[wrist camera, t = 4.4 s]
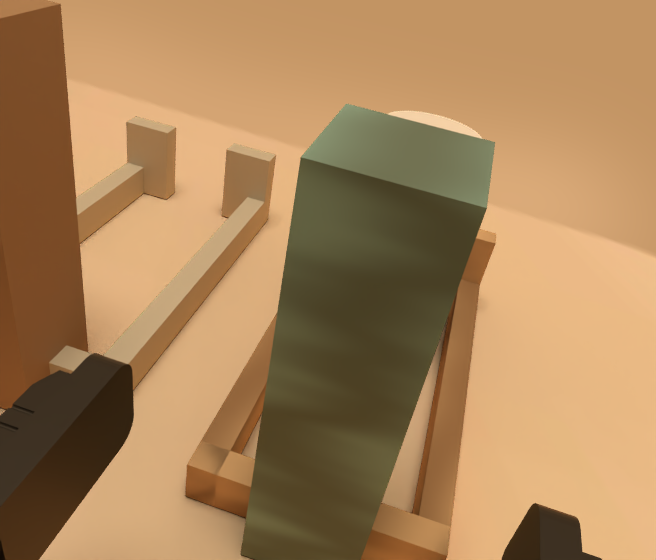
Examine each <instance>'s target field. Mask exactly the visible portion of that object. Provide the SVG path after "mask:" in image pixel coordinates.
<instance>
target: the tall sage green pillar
mask: <svg viewBox="0 0 656 560" xmlns="http://www.w3.org/2000/svg"><path fill="white" fill-rule="evenodd" d="M494 147H495V142H492V141H488V140H485V139H481V138H477V137H473V136H469V135H465V134H461V133H458V132H454V131H450V130H446V129H442V128H438V127H435V126H431V125H427V124H423V123H419V122H415V121H411V120H408V119H404V118H400V117H396V116H392V115H388V114H384V113H380V112H376V111H373V110H369V109H365V108H361V107H357V106H354V105H349V104H346V105H345V106H344V107H343V108H342V109H341V111H340V112H339V113H338V114H337V115H336V117H335V118H334V119H333V120H332V121H331V122H330V124H329V125H328V126H327V127H326V128H325V129H324V131H323V132H322V133H321V134H320V135H319V136H318V138H317V139H316V140H315V141H314V142H313V144H312V145H311V146H310V147H309V148H308V149H307V151H306V152H305V153H304V154H303V155H302V157H301V160H300V167H299V173H298V180H297V187H296V193H295V200H294V206H293V213H292V219H291V226H290V233H289V239H288V246H287V252H286V259H285V266H284V272H283V279H282V285H281V292H280V299H279V305H278V312H277V314H276V315H275V317H274V319H273V321H272V322H271V324H270V326H269V327H268V329H267V331H266V332H265V334H264V336H263V337H262V339H261V341H260V342H259V344H258V346H257V348H256V349H255V351H254V353H253V354H252V356H251V358H250V359H249V361H248V363H247V364H246V366H245V368H244V369H243V371H242V373H241V375H240V376H239V378H238V380H237V381H236V383H235V385H234V386H233V388H232V390H231V391H230V393H229V395H228V397H227V398H226V400H225V402H224V403H223V405H222V407H221V408H220V410H219V412H218V413H217V415H216V417H215V418H214V420H213V422H212V424H211V425H210V427H209V429H208V430H207V432H206V434H205V435H204V437H203V439H202V440H201V442H200V444H199V445H198V447H197V449H196V451H195V452H194V454H193V456H192V457H191V459H190V461H189V462H188V464H187V477H186V496H187V497H189V498H192V499H195V500H198V501H201V502H203V503H206V504H209V505H212V506H215V507H217V508H220V509H223V510H226V511H228V512H231V513H234V514H237V515H240V516H242V517H245V518H246V523H245V529H244V536H243V543H242V549H241V555H243V556H246V557H249V558H251V559H254V560H361V559H362V560H446V558H447V555H448V546H449V538H450V529H451V521H452V513H453V504H454V496H455V487H456V479H457V471H458V462H459V454H460V446H461V437H462V429H463V420H464V412H465V404H466V395H467V387H468V378H469V370H470V362H471V353H472V345H473V337H474V328H475V320H476V311H477V303H478V295H479V286H480V283H481V280H482V277H483V275H484V272H485V269H486V267H487V264H488V262H489V259H490V256H491V254H492V251H493V249H494V246H495V242H496V234H495V233H492V232H488V231H485V230H481V229H479V228H480V226H481V223H482V220H483V217H484V214H485V212H486V209H487V202H488V194H489V186H490V178H491V170H492V162H493V155H494ZM448 315H449V316H448ZM447 318H448V322H447V327H446V332H445V338H444V343H443V349H442V354H441V360H440V365H439V371H438V376H437V381H436V387H435V392H434V398H433V403H432V409H431V414H430V419H429V425H428V430H427V436H426V441H425V447H424V452H423V458H422V463H421V468H420V474H419V479H418V485H417V490H416V496H415V501H414V506H413V512H412V513H409V512H406V511H403V510H401V509H398V508H395V507H392V506H389V505H386V504H383V503H381V502H382V499H383V496H384V493H385V491H386V488H387V485H388V482H389V479H390V477H391V474H392V471H393V468H394V465H395V463H396V460H397V457H398V454H399V452H400V449H401V446H402V443H403V440H404V438H405V435H406V432H407V429H408V426H409V424H410V421H411V418H412V415H413V412H414V410H415V407H416V404H417V401H418V399H419V396H420V393H421V390H422V387H423V385H424V382H425V379H426V376H427V373H428V371H429V368H430V365H431V362H432V359H433V357H434V354H435V351H436V348H437V346H438V343H439V340H440V337H441V334H442V332H443V329H444V326H445V323H446V320H447ZM261 413H262V417H261V424H260V430H259V437H258V444H257V450H256V457H255V459H253V458H250V457H247V456H244V455H241V453H242V451H243V449H244V447H245V445H246V443H247V441H248V439H249V437H250V435H251V433H252V431H253V429H254V427H255V425H256V423H257V421H258V419H259V417H260V415H261Z"/></svg>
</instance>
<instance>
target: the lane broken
mask: <svg viewBox="0 0 656 560" xmlns="http://www.w3.org/2000/svg"><path fill="white" fill-rule="evenodd" d="M126 125H127V163H126V164H125V165H123V166H122V167H120V168H119V169H118V170H116V171H115V172H113V173H112V174H110V175H109V176H107V177H106V178H104V179H103V180H101V181H100V182H98V183H97V184H95V185H94V186H93V187H91V188H90V189H88V190H87V191H85V192H84V193H82V194H81V195H79V196H78V197H76V192H75V180H74V167H73V155H72V142H71V130H70V117H69V104H68V92H67V79H66V67H65V54H64V43H63V30H62V16H61V5H60V4H59V3H55V2H51V1H47V0H0V407H1V408H4V409H6V410H7V409H8V408H11V407H12V405H13V403H14V402H15V401H16V400H17V399H18V398H19V397H20V396H21V395H22V394H23V393H24V392H25V391H26V390H27V389H28V388H29V387H30V386H31V385H32V384H34V383H36V382H37V381H39V380H41V379H43V378H45V377H47V376H49V375H51V374H53V373H55V372H57V371H58V370H61V371H64V372H67V373H70V374H71V373H72V372H73V371H74V370H75V369H76V368H77V367H78V366H79V365H80V364H81V363H82V362H83V361H84V360H85V359H86V358H87V357H88V356H89V355H91V353H88V343H87V331H86V318H85V305H84V293H83V280H82V268H81V255H80V243H81V242H82V241H84V240H85V239H86V238H87V237H89V236H90V235H91V234H92V233H94V232H95V231H96V230H97V229H99V228H100V227H101V226H103V225H104V224H105V223H106V222H108V221H109V220H110V219H111V218H113V217H114V216H115V215H116V214H118V213H119V212H120V211H122V210H123V209H124V208H125V207H127V206H128V205H129V204H130V203H132V202H133V201H134V200H136V199H137V198H138V197H139V196H141V195H142V194H143V193H146V194H149V195H153V196H156V197H160V198H163V199H167V198H169V197H170V196H171V195H172V194H173V193H174V192H175V154H176V127H173V126H170V125H166V124H162V123H159V122H155V121H151V120H148V119H144V118H141V117H137V116H136V117H134V118H132V119H131V120H129V121H127V122H126ZM275 159H276V155H275V154H271V153H268V152H264V151H261V150H257V149H253V148H250V147H246V146H242V145H239V144H235V143H234V144H233V145H232V146H230V147H229V148H228V149H227V152H226V166H225V179H224V192H223V205H222V216H225V217H228V219H227V220H226V221H225V222H224V223H223V225H222V226H221V227H220V228H219V229H218V230H217V231H216V232H215V233H214V234H213V235H212V237H211V238H210V239H209V240H208V241H207V242H206V243H205V244H204V245H203V246H202V248H201V249H200V250H199V251H198V252H197V253H196V254H195V255H194V256H193V257H192V259H191V260H190V261H189V262H188V263H187V264H186V265H185V266H184V267H183V268H182V269H181V271H180V272H179V273H178V274H177V275H176V276H175V277H174V278H173V279H172V280H171V282H170V283H169V284H168V285H167V286H166V287H165V288H164V289H163V290H162V291H161V292H160V294H159V295H158V296H157V297H156V298H155V299H154V300H153V301H152V302H151V303H150V305H149V306H148V307H147V308H146V309H145V310H144V311H143V312H142V313H141V314H140V315H139V317H138V318H137V319H136V320H135V321H134V322H133V323H132V324H131V325H130V326H129V328H128V329H127V330H126V331H125V332H124V333H123V334H122V335H121V336H120V337H119V338H118V340H117V341H116V342H115V343H114V344H113V345H112V346H111V347H110V348H109V349H108V351H107V352H106V353H105V354H104V355H103V356H105V357H108V358H111V359H114V360H117V361H120V362H123V363H126V364H129V365H130V366H131V367H132V372H133V390H134V389H135V387H136V386H137V385H138V383H139V382H140V381H141V380H142V378H143V377H144V376H145V375H146V373H147V372H148V371H149V370H150V368H151V367H152V366H153V364H154V363H155V362H156V361H157V359H158V358H159V357H160V356H161V354H162V353H163V352H164V351H165V349H166V348H167V347H168V345H169V344H170V343H171V342H172V340H173V339H174V338H175V337H176V335H177V334H178V333H179V332H180V330H181V329H182V328H183V326H184V325H185V324H186V323H187V321H188V320H189V319H190V318H191V316H192V315H193V314H194V312H195V311H196V310H197V309H198V307H199V306H200V305H201V304H202V302H203V301H204V300H205V299H206V297H207V296H208V295H209V293H210V292H211V291H212V290H213V288H214V287H215V286H216V285H217V283H218V282H219V281H220V280H221V278H222V277H223V276H224V274H225V273H226V272H227V271H228V269H229V268H230V267H231V266H232V264H233V263H234V262H235V260H236V259H237V258H238V257H239V255H240V254H241V253H242V252H243V250H244V249H245V248H246V247H247V245H248V244H249V243H250V241H251V240H252V239H253V238H254V236H255V235H256V234H257V233H258V231H259V230H260V229H261V228H262V226H263V225H264V224H265V222H266V221H267V220H268V214H269V206H270V198H271V191H272V183H273V175H274V167H275Z"/></svg>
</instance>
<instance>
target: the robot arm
mask: <svg viewBox="0 0 656 560" xmlns="http://www.w3.org/2000/svg"><path fill="white" fill-rule="evenodd" d="M133 417H134V409H133V372H132V367H131V366H130V365H129V364H126V363H123V362H120V361H117V360H114V359H111V358H108V357H105V356H102V355H100V354H96V353H94V354H91V355H89V356H88V357H87V358H86V359H85V360H84V361H83V362H82V363H81V364H80V365H79V366H78V367H77V368H76V369H75V370H74V371H73V372H72V373H71V374H70V373H67V372H64V371H61V370H58V371H57V372H55V373H53V374H51V375H49V376H47V377H45V378H43V379H41V380H39V381H37V382H36V383H34V384H32V385H31V386H30V387H29V388H28V389H27V390H26V391H25V392H24V393H23V394H22V395H21V396H20V397H19V398H18V399H17V400H16V401H15V402H14V403H13V405H12V407H11V408H8V409H7V410H6V411H5V412H4V413H3V414H2V415H1V416H0V560H39V559H40V557H41V556H42V555H43V553H44V552H45V551H46V549H47V548H48V546H49V545H50V544H51V542H52V541H53V540H54V538H55V537H56V536H57V534H58V533H59V531H60V530H61V529H62V527H63V526H64V525H65V523H66V522H67V521H68V519H69V518H70V517H71V515H72V514H73V512H74V511H75V510H76V508H77V507H78V506H79V504H80V503H81V502H82V500H83V499H84V498H85V496H86V495H87V493H88V492H89V491H90V489H91V488H92V487H93V485H94V484H95V483H96V481H97V480H98V478H99V477H100V476H101V474H102V473H103V472H104V470H105V469H106V468H107V466H108V465H109V464H110V462H111V461H112V459H113V458H114V457H115V455H116V454H117V453H118V451H119V450H120V449H121V447H122V446H123V444H124V443H125V441H126V439H127V437H128V435H129V432H130V430H131V427H132V423H133ZM502 560H602V559H601V558H598V557H595V556H593V555H590V554H587V553H584V552H582V542H581V529H580V523H579V520H578V519H577V517H575V516H572V515H569V514H566V513H563V512H560V511H557V510H554V509H551V508H548V507H545V506H542V505H539V504H536V503H535V504H533V505H532V506H531V507H530V509H529V510H528V512H527V514H526V515H525V517H524V519H523V520H522V522H521V524H520V525H519V527H518V529H517V530H516V532H515V534H514V535H513V537H512V539H511V540H510V542H509V544H508V545H507V547H506V549H505V551H504V554H503V557H502Z"/></svg>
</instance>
